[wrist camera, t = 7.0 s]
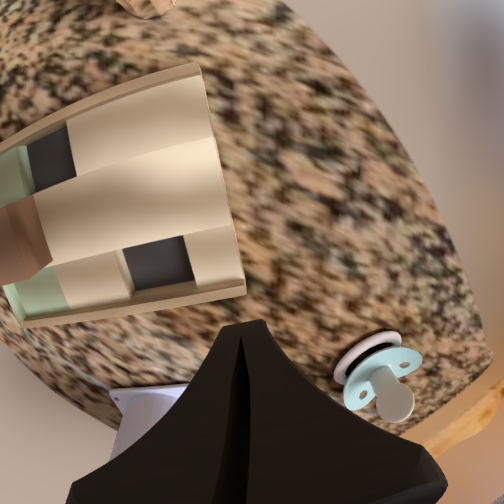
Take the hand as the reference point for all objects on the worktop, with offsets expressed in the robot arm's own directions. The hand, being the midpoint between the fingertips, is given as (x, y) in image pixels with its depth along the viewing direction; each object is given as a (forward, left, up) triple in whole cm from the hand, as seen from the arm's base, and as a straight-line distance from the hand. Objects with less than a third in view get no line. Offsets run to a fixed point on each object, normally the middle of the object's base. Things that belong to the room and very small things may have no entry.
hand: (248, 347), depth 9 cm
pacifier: (-12, -8, -10) cm, 18 cm away
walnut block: (+5, +15, -8) cm, 17 cm away
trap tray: (+5, +9, -10) cm, 14 cm away
